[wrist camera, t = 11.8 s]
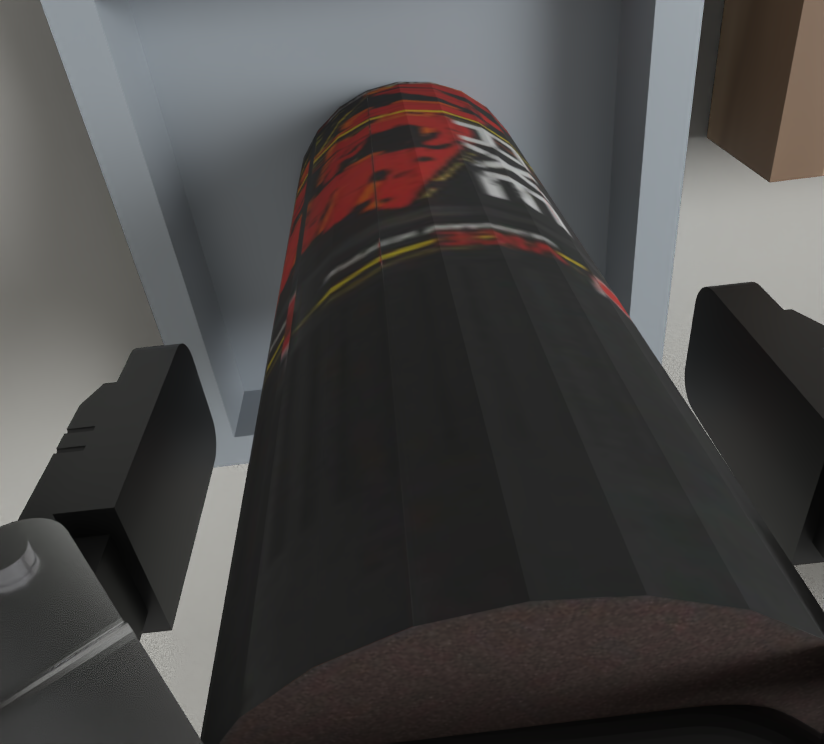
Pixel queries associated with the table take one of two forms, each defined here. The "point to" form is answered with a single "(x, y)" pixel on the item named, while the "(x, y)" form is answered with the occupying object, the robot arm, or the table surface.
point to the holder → (771, 87)
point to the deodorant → (479, 472)
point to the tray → (318, 100)
